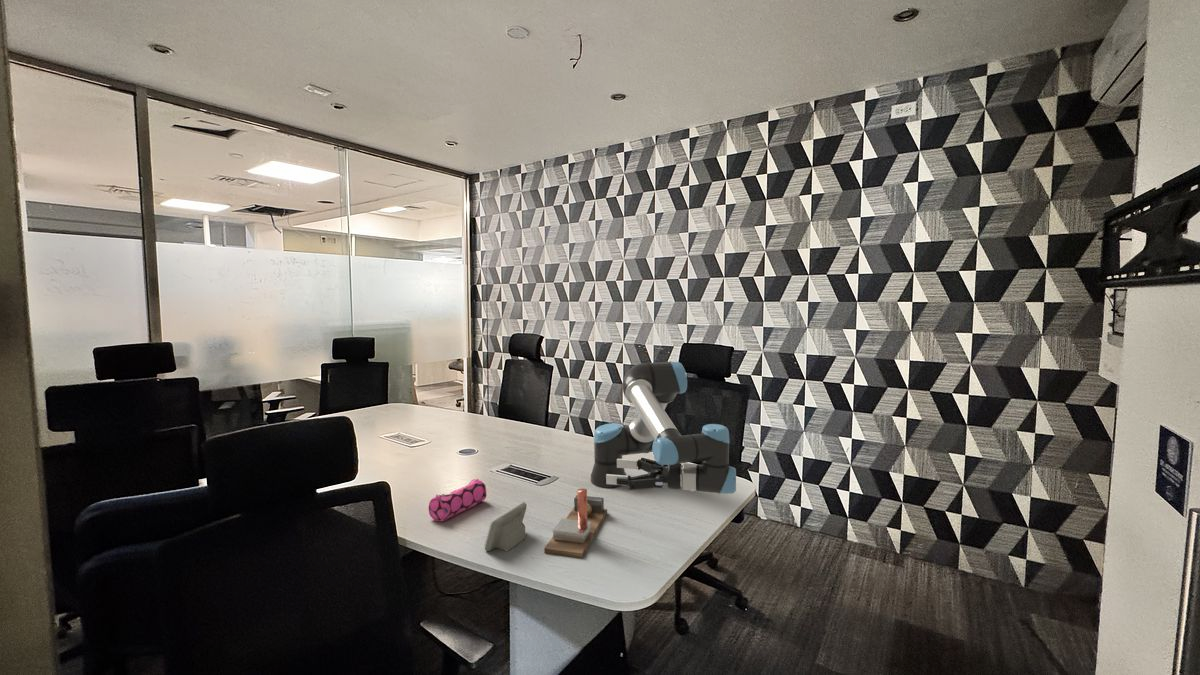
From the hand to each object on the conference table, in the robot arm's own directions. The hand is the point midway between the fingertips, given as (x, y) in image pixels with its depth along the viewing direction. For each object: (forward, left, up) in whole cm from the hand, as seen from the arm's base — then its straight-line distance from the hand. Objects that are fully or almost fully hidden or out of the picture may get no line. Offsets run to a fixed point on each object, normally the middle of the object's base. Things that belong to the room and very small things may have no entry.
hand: (611, 470), depth 146 cm
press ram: (-12, -6, -22) cm, 26 cm away
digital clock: (-27, -21, -24) cm, 42 cm away
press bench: (-14, -1, -24) cm, 28 cm away
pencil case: (-58, -20, -24) cm, 66 cm away
